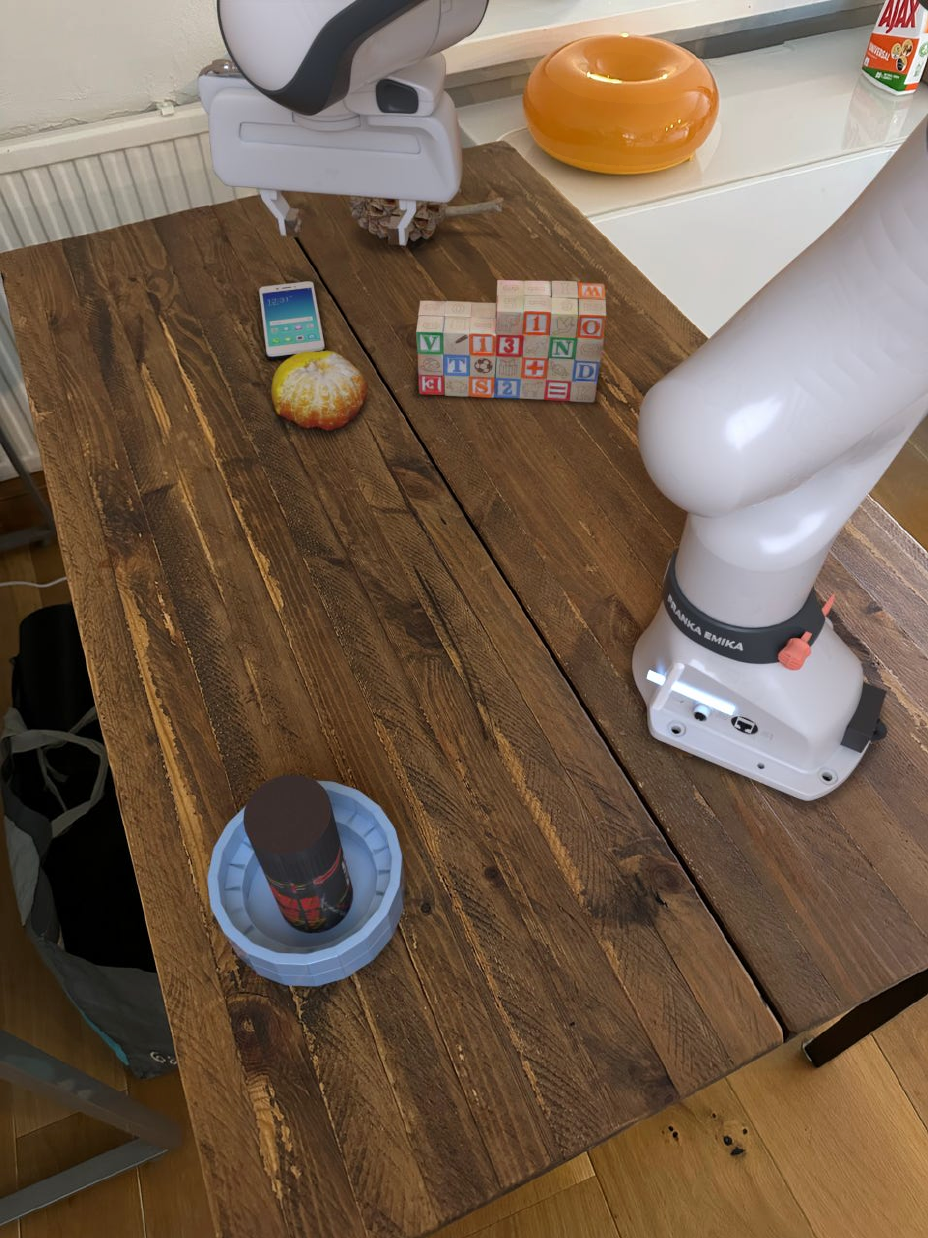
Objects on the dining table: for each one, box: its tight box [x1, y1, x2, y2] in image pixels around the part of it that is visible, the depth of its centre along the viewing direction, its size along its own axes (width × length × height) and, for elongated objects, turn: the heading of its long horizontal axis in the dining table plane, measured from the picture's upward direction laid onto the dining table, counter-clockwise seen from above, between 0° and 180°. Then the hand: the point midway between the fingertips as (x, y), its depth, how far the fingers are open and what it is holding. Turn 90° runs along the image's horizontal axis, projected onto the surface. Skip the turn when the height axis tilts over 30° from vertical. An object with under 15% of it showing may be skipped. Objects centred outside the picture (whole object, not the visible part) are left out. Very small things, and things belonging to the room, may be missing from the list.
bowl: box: [206, 780, 407, 987], centre depth 74 cm, size 15×15×6 cm
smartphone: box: [258, 280, 326, 361], centre depth 123 cm, size 8×1×15 cm
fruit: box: [270, 350, 368, 432], centre depth 111 cm, size 11×10×8 cm
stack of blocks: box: [415, 279, 607, 403], centre depth 111 cm, size 21×6×12 cm, turn 87°
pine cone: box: [348, 195, 508, 242], centre depth 132 cm, size 22×10×10 cm, turn 94°
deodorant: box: [243, 773, 353, 934], centre depth 70 cm, size 6×6×15 cm
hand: (345, 237), depth 82 cm, fingers open, 8 cm apart
